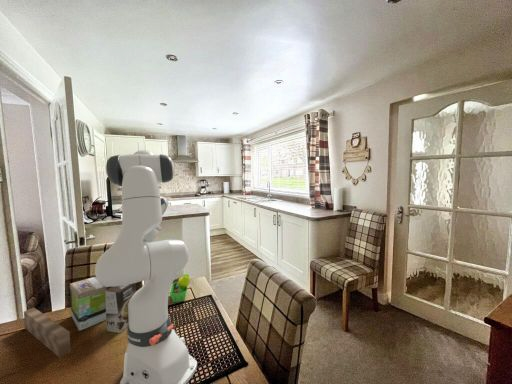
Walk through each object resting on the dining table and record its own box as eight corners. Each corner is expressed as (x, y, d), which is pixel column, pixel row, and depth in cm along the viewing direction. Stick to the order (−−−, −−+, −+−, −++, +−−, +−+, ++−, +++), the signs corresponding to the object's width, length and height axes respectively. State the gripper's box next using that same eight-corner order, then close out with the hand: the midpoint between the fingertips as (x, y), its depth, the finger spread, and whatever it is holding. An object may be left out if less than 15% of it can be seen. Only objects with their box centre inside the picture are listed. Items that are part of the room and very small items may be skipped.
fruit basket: (173, 292, 113) (172, 271, 112) (190, 290, 115) (190, 269, 115) (169, 304, 102) (169, 281, 101) (189, 301, 104) (188, 279, 104)
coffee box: (120, 333, 83) (118, 292, 82) (106, 331, 84) (104, 290, 83) (137, 318, 92) (136, 281, 91) (124, 316, 93) (123, 280, 92)
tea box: (108, 319, 92) (107, 285, 91) (78, 332, 84) (76, 295, 83) (98, 305, 101) (96, 275, 100) (70, 316, 94) (68, 283, 93)
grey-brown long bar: (70, 351, 75) (69, 331, 74) (59, 357, 72) (58, 337, 71) (35, 324, 89) (34, 307, 88) (24, 328, 86) (23, 311, 86)
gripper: (129, 217, 118) (112, 240, 110) (156, 222, 109) (139, 247, 102) (137, 224, 122) (121, 246, 115) (164, 228, 114) (148, 253, 106)
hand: (130, 246), depth 108 cm, fingers open, 8 cm apart
